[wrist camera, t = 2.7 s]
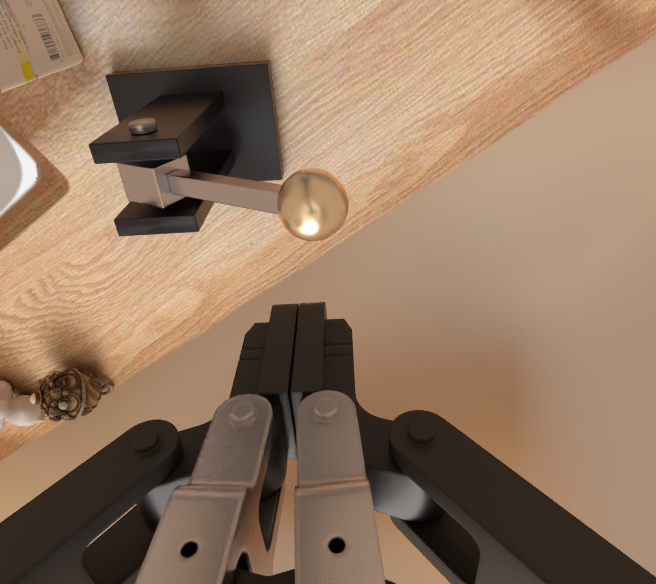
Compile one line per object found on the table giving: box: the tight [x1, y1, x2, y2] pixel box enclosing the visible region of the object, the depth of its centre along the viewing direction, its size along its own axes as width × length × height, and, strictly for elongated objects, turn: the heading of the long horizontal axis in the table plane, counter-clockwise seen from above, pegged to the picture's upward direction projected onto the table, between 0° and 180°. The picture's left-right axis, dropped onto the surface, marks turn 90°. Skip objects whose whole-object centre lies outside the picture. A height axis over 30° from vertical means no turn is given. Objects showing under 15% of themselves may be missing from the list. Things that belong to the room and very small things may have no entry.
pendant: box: [30, 368, 114, 421], centre depth 47 cm, size 5×8×5 cm
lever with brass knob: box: [117, 154, 348, 241], centre depth 24 cm, size 13×3×3 cm, turn 94°
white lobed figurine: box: [0, 380, 45, 430], centre depth 49 cm, size 5×7×8 cm
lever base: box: [89, 61, 284, 236], centre depth 30 cm, size 11×8×13 cm
